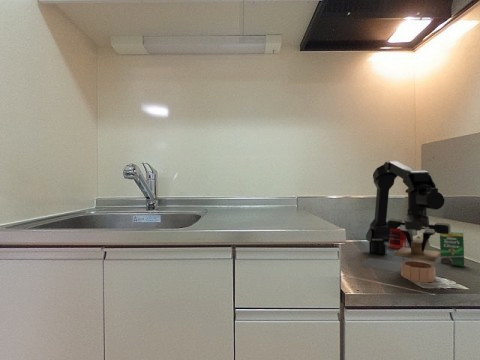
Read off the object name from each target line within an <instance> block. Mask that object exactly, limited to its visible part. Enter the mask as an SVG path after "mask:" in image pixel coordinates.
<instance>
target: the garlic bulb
mask: <svg viewBox="0 0 480 360" xmlns="http://www.w3.org/2000/svg"><path fill="white" fill-rule="evenodd" d="M413 240H422V241H423V232H422V233H419V234H416V235H413ZM408 247H410V245H409V246H408ZM430 249H431V244H430V239H429V240H428V242H427V245H426V247H425V249H424V250H429V251H430Z"/></svg>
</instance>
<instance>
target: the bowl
mask: <svg viewBox="0 0 480 360" xmlns="http://www.w3.org/2000/svg"><path fill="white" fill-rule="evenodd" d="M400 263H401V269H400V270H401V272H400V273H401V276H402V278H404V279H406V280H409V281H414V282H419V283H431V282H435V281H436V266H435V265H434V264H433V263H430V262H428V261H423V260H410V259H409V260H403V261H401V262H400Z"/></svg>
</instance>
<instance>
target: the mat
mask: <svg viewBox="0 0 480 360" xmlns="http://www.w3.org/2000/svg"><path fill="white" fill-rule="evenodd" d="M359 266H360V267H365V268H369V269H370V268H372V269H378V270H383V271H387V272H393V273H398V272H400V270H401V262H398V261H393V260H392V261H391V260H385V259H381V258H380V259H379V258H373V257H369V258H368V259H366V260H364V261H363V262H361V263H360V264H359Z"/></svg>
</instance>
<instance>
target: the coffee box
mask: <svg viewBox="0 0 480 360" xmlns="http://www.w3.org/2000/svg"><path fill="white" fill-rule="evenodd" d="M464 241H465V240H464V233H463V232H454V231H453V232H450V233H449V234H440V233H439V246H440V248H439V249H440V251H439V252H440V263H441V264H443V263H444V264H448V265H450V266H455V267H456V266H457V267H463V268H464V267H465V247H464V246H465V244H464V243H465V242H464Z"/></svg>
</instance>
